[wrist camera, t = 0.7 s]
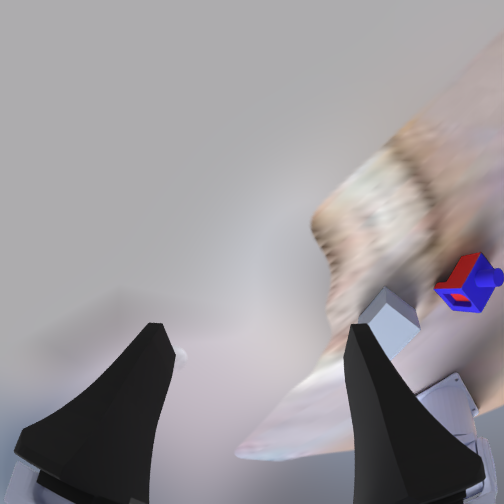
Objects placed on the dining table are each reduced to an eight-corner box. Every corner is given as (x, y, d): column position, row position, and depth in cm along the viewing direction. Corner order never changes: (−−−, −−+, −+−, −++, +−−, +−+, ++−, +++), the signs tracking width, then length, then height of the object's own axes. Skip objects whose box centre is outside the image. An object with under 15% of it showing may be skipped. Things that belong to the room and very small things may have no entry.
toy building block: (471, 279, 25) (518, 275, 17) (452, 310, 25) (499, 315, 17) (453, 258, 26) (499, 248, 18) (433, 289, 25) (479, 287, 18)
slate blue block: (415, 309, 27) (420, 329, 23) (388, 339, 29) (389, 361, 25) (384, 285, 28) (386, 303, 24) (358, 316, 30) (355, 337, 26)
